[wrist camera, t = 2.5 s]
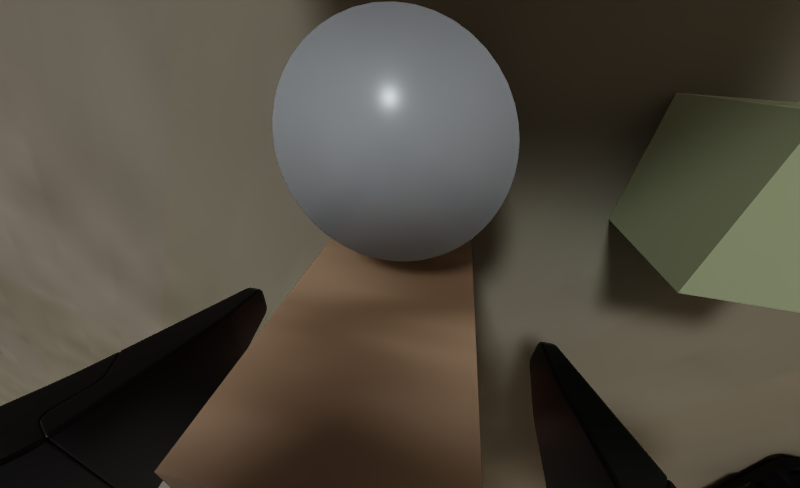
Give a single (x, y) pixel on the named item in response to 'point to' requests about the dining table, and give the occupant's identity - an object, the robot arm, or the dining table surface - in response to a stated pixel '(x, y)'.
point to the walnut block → (349, 385)
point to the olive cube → (720, 200)
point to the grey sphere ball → (395, 131)
